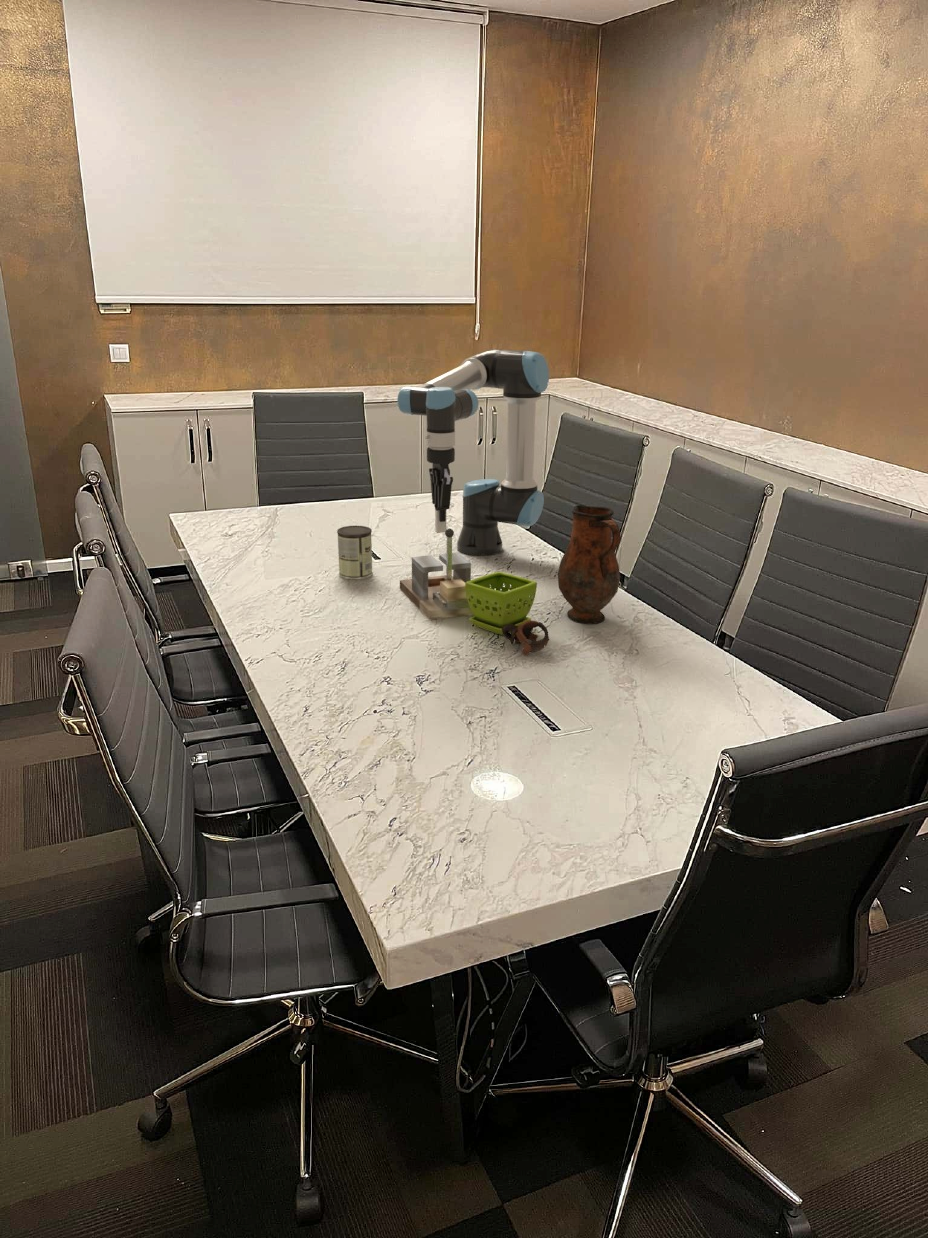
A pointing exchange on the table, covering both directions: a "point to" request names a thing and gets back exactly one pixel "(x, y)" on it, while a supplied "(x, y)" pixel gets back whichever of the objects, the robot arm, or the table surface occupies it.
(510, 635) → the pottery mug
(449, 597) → the block
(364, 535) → the coffee can
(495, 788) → the table surface
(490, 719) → the table surface
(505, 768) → the table surface
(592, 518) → the pitcher
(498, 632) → the flower pot
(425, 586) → the bench vise
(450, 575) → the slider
